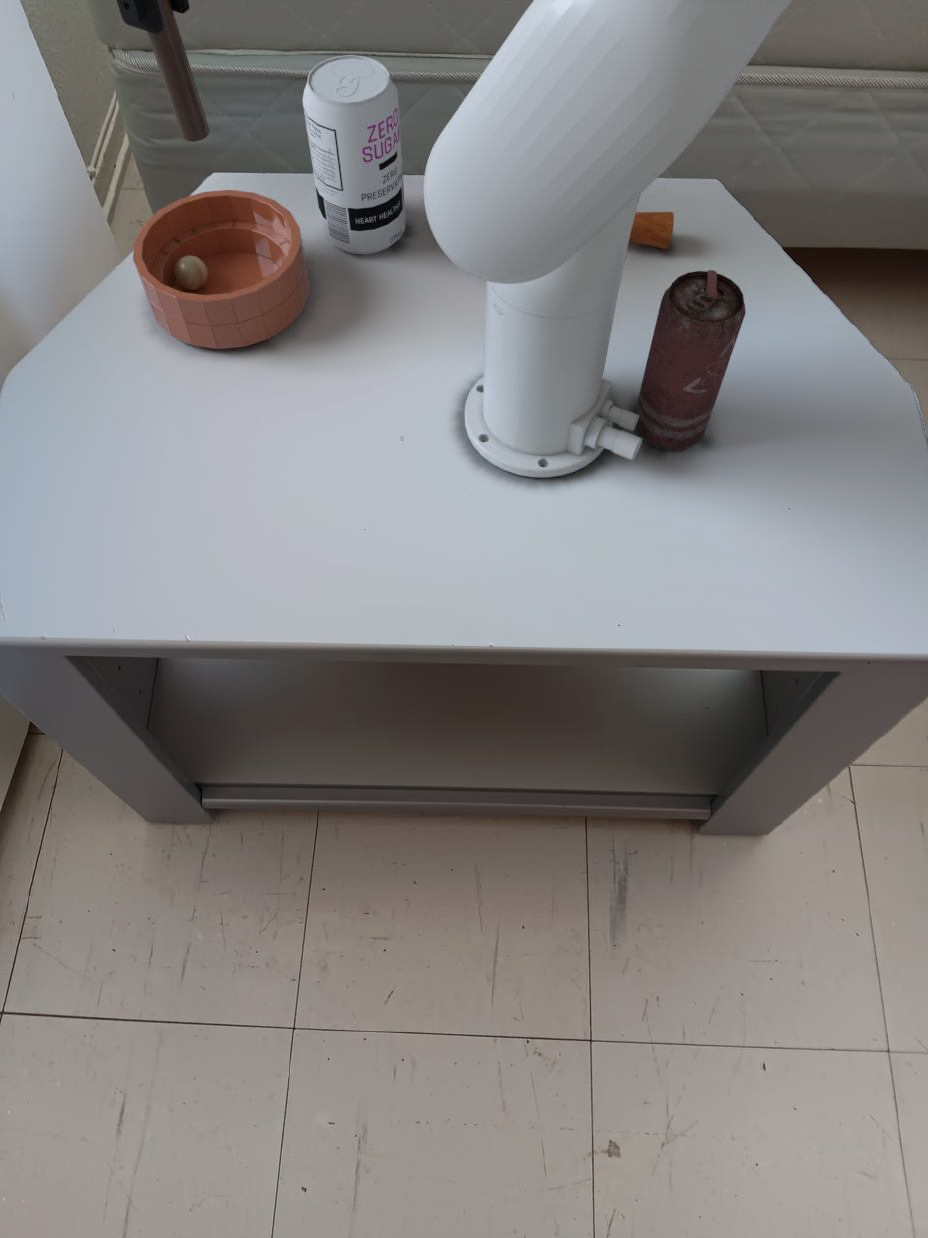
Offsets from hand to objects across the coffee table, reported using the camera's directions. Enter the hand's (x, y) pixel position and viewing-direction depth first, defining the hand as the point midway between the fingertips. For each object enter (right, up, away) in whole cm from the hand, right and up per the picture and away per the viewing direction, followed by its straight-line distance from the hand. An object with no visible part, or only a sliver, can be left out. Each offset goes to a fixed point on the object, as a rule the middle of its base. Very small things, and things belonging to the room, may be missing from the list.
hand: (156, 14), depth 64 cm
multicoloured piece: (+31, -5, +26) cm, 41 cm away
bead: (-4, -10, +20) cm, 23 cm away
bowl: (0, -12, +22) cm, 25 cm away
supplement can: (+12, -4, +27) cm, 29 cm away
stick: (+1, -4, +7) cm, 9 cm away
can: (+39, -26, +14) cm, 49 cm away
